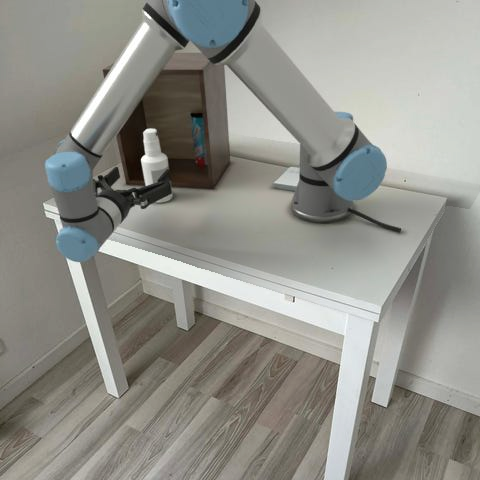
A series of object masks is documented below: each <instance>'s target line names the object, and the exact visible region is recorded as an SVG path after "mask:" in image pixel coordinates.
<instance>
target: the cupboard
mask: <svg viewBox="0 0 480 480" xmlns="http://www.w3.org/2000/svg"><path fill="white" fill-rule="evenodd" d="M113 65H114V63H112V64H110V65H108V66H106V67H104V68H102V69H101V70H102V75H103V78H104V79H105V77H106V76H107V74H108V73H109V71H110V70H111V68H112V66H113ZM104 79H103V80H104ZM227 101H228V100H227V86H226V70H225V65H213V64H212V63H211V62H210V61H209V60H208V59H207V57H206V56H205V55H204V54H203V53H202V52H174V54H173V55H172V57H171V58H170V59H169V61H168V62H167V64H166V65H165V67H164V68H163V69H162V71H161V72H160V74H159V75H158V77H157V78H156V80H155V81H154V82H153V84H152V85H151V87H150V88H149V90H148V91H147V92H146V94H145V95H144V97H143V98H142V100H141V101H140V102H139V104H138V105H137V107H136V108H135V110H134V111H133V112H132V114H131V115H130V117H129V118H128V120H127V121H126V122H125V124H124V125H123V127H122V128H121V130H120V131H119V133H118V134H117V135H116V137H115V139H116V142H117V147H118V151H119V156H120V157H119V158H120V161H121V165H122V166H121V167H122V171H123V176H124V181H125V185H126V186H142V187H144V186H146V185H145V179H144V174H143V168H142V163H141V158H142V157H143V156H144V155H146V154H145V147H144V141H143V140H144V135H143V132H144V131H145V130H146V129H156V130H157V136H158V138H159V144H160V148H161V153H163V154H165V155H166V156H167V158H168V165H169V169H170V175H171V186H172V188H179V189H183V188H184V189H199V190H215V188H216V187H217V185H218V183H219V182H220V181H221V178H222V177H223V176H224V174H225V172H226V171H227V169H228V168H229V166H230V165H231V151H230V150H231V149H230V148H231V147H230V135H229V118H228V104H227V103H228V102H227ZM191 113H203V123H204V134H205V145H206V155H207V165H200V164H197V163H196V161H195V152H194V143H193V134H192V124H191V115H190V114H191Z"/></svg>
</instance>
